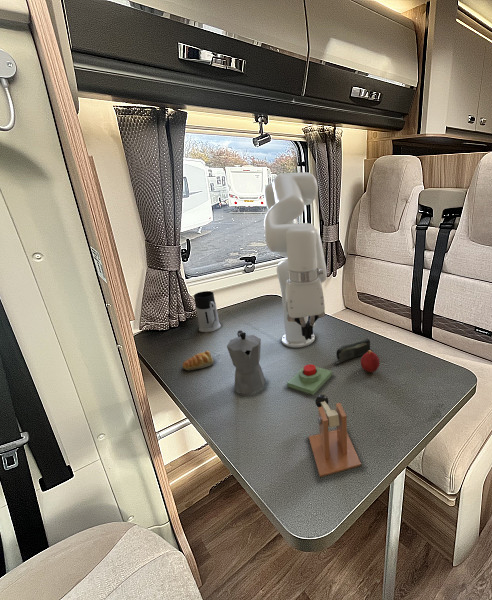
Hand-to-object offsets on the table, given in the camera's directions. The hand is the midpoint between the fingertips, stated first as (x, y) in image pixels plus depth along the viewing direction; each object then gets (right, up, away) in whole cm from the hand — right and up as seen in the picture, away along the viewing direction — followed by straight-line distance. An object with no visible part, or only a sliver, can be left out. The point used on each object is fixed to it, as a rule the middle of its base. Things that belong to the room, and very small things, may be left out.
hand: (307, 337), depth 90 cm
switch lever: (+6, -16, -17) cm, 24 cm away
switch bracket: (+8, -24, -19) cm, 31 cm away
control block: (0, -14, +6) cm, 16 cm away
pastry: (-38, -11, +17) cm, 43 cm away
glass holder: (-44, -2, +42) cm, 61 cm away
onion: (+19, -12, +10) cm, 25 cm away
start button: (0, -11, +5) cm, 12 cm away
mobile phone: (+14, -9, +19) cm, 25 cm away
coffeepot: (-18, -15, +6) cm, 24 cm away
